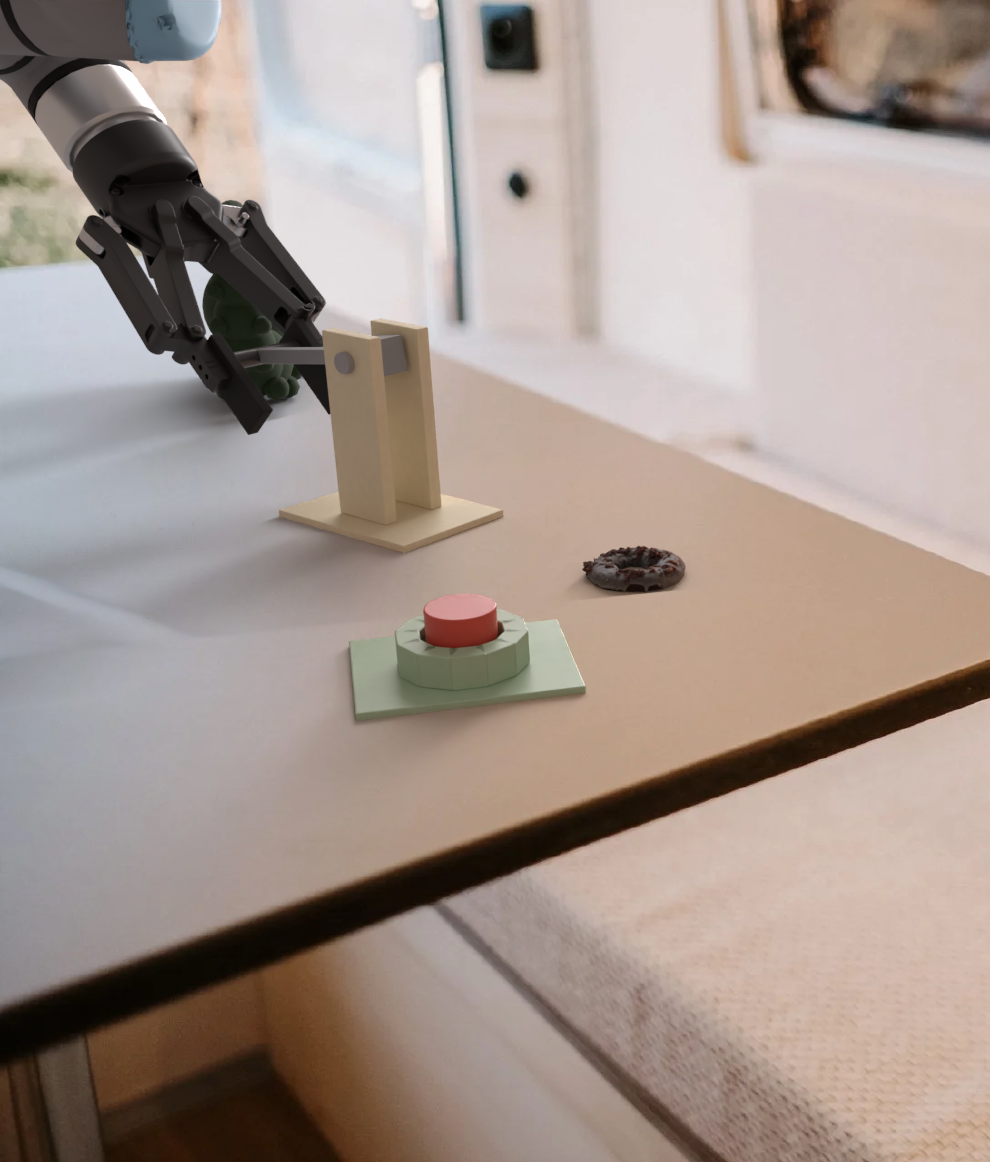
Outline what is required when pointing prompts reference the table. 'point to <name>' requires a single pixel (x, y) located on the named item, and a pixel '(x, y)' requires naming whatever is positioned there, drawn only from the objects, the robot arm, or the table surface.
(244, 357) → the lever
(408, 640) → the button block
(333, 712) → the table surface
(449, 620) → the button
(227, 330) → the toy figurine
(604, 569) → the donut
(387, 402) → the bracket
